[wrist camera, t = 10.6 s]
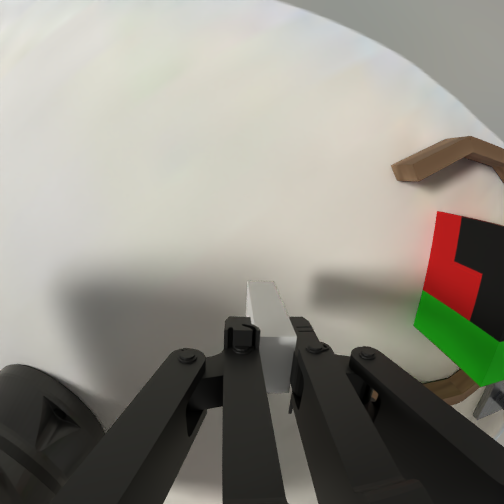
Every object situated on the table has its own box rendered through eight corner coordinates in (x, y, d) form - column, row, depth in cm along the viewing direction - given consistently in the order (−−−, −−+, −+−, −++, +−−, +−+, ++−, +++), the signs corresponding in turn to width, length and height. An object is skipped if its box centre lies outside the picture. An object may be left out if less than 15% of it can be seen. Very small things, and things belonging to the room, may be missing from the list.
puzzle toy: (505, 225, 22) (580, 248, 12) (483, 320, 24) (545, 364, 15) (436, 210, 21) (527, 232, 12) (412, 325, 24) (480, 387, 14)
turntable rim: (494, 373, 26) (508, 385, 23) (349, 404, 25) (359, 425, 22) (537, 172, 21) (556, 174, 18) (392, 124, 19) (412, 117, 16)
